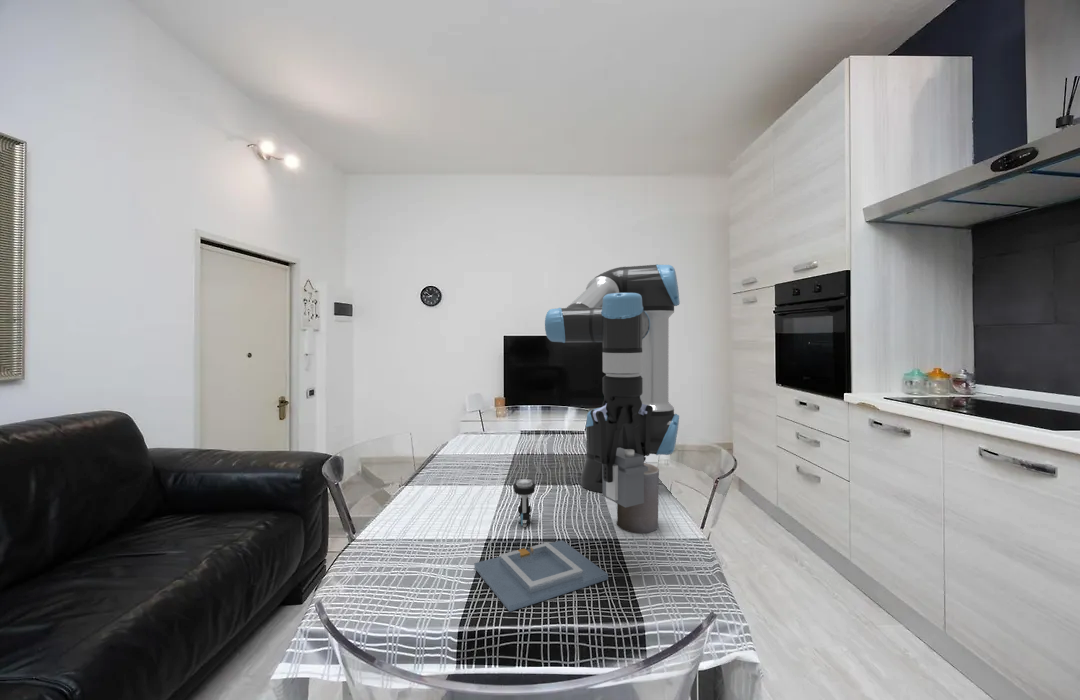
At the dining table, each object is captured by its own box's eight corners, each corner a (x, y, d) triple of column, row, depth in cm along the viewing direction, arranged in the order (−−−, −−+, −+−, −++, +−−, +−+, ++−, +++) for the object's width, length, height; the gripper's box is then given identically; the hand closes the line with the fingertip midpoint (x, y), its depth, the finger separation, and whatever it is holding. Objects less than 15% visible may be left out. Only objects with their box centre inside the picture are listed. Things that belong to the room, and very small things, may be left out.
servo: (616, 490, 93) (616, 441, 92) (647, 504, 85) (647, 451, 84) (599, 493, 91) (599, 444, 90) (629, 509, 83) (629, 455, 82)
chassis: (561, 544, 98) (561, 534, 98) (608, 579, 84) (608, 567, 84) (474, 567, 88) (473, 556, 88) (509, 612, 74) (509, 598, 74)
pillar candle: (608, 525, 108) (609, 462, 107) (630, 512, 115) (631, 454, 114) (645, 537, 101) (646, 471, 101) (666, 524, 108) (667, 461, 108)
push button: (535, 529, 106) (535, 486, 106) (512, 529, 106) (512, 486, 106) (535, 517, 113) (535, 477, 112) (514, 517, 113) (513, 477, 112)
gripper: (644, 370, 94) (644, 482, 95) (573, 375, 86) (573, 497, 87) (670, 373, 88) (670, 493, 89) (596, 379, 79) (597, 511, 80)
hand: (622, 495), depth 88 cm, fingers closed on servo, 4 cm apart
